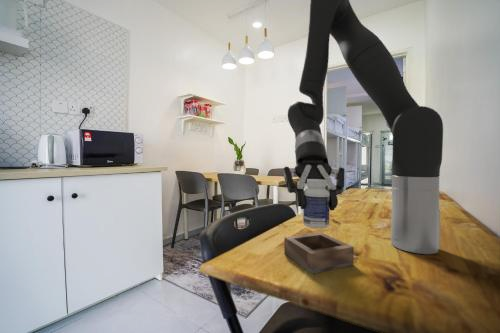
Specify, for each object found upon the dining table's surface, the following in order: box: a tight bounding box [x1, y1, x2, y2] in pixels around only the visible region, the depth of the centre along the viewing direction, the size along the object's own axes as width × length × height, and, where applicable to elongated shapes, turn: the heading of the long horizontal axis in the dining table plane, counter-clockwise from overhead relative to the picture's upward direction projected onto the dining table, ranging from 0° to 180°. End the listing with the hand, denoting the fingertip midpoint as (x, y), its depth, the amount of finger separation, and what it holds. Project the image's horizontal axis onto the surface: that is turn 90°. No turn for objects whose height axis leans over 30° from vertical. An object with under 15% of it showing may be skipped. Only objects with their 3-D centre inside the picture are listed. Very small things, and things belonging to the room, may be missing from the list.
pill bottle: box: [302, 179, 331, 229], centre depth 48 cm, size 5×5×10 cm
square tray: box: [283, 232, 355, 274], centre depth 48 cm, size 10×10×4 cm
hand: (317, 207), depth 46 cm, fingers closed on pill bottle, 5 cm apart
